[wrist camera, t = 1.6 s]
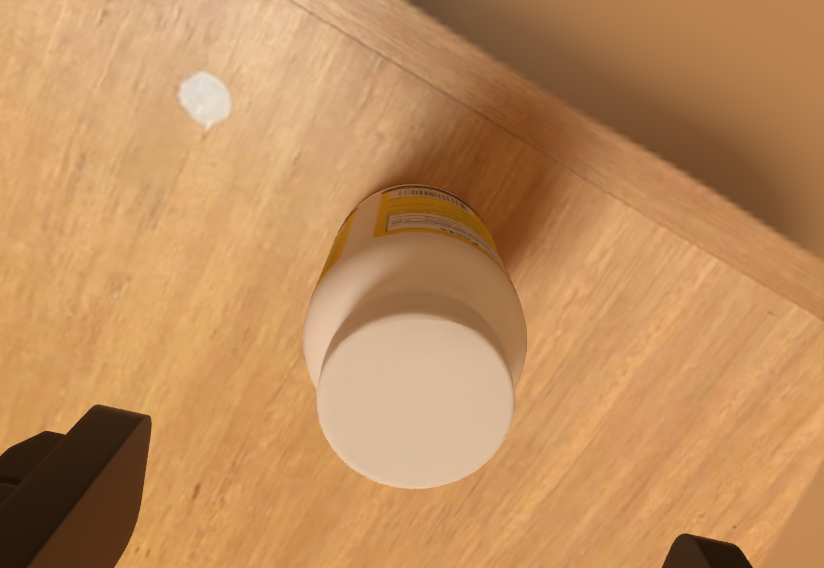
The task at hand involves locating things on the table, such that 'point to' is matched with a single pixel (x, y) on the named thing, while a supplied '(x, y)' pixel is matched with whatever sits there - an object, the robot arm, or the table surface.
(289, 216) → the table surface
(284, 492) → the table surface
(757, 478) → the table surface
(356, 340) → the supplement bottle
